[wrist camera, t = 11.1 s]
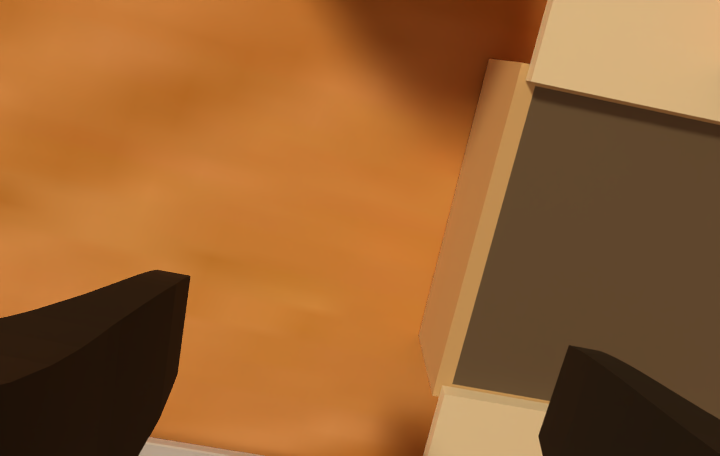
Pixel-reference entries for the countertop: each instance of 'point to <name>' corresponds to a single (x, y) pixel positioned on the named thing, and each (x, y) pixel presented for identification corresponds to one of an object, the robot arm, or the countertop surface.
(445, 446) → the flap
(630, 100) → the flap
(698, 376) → the carton
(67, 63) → the countertop surface
